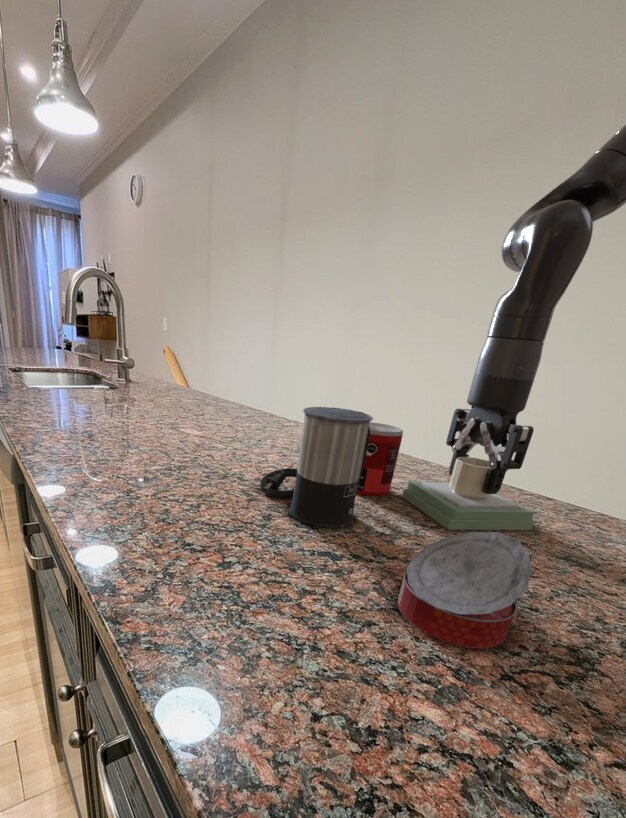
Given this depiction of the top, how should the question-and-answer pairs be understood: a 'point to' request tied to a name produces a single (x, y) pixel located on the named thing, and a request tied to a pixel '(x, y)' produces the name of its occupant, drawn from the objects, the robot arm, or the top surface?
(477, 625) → the canned food
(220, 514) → the top surface
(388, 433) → the canned food
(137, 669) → the top surface
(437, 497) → the scale
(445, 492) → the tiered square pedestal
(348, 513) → the milk frother
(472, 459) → the beige short cylinder
